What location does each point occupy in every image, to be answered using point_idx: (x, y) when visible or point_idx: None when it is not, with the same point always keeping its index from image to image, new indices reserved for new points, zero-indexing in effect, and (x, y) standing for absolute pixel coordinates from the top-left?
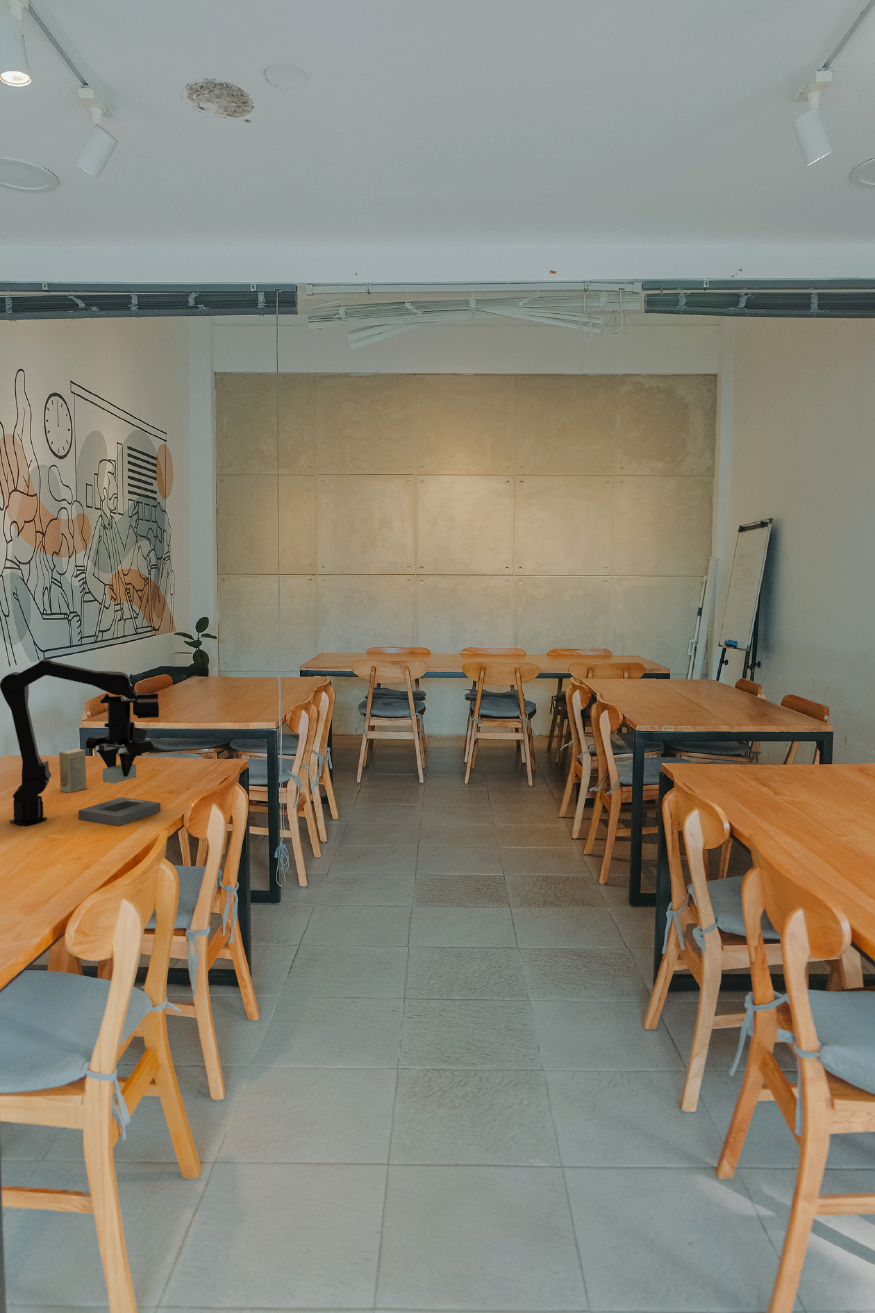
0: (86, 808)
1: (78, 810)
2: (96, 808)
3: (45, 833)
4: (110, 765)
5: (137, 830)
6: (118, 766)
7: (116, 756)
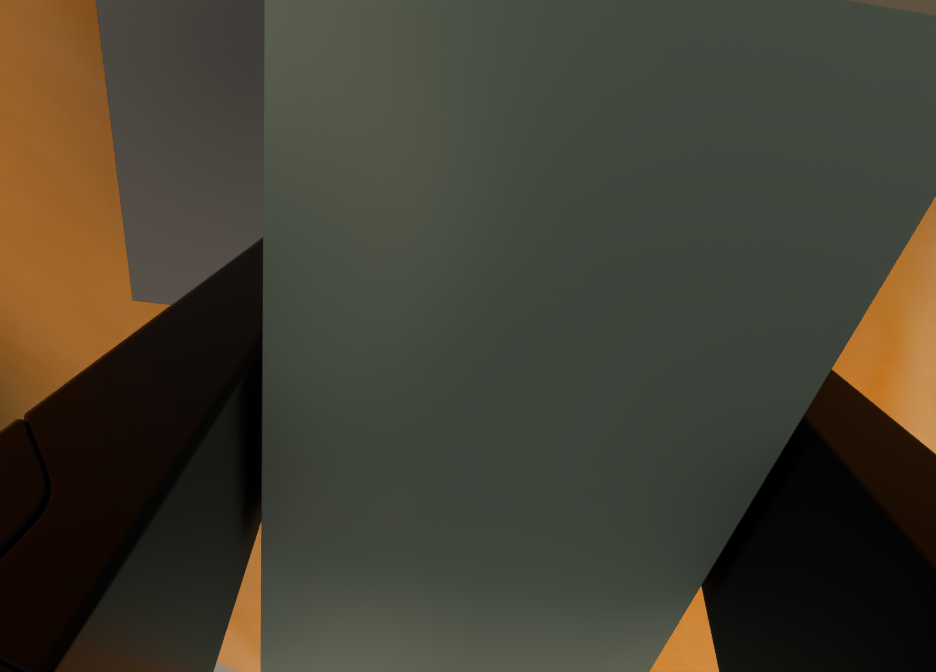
0: (150, 225)
1: (134, 299)
2: (260, 193)
3: (255, 545)
4: (234, 582)
5: (906, 358)
6: (429, 449)
7: (59, 641)
